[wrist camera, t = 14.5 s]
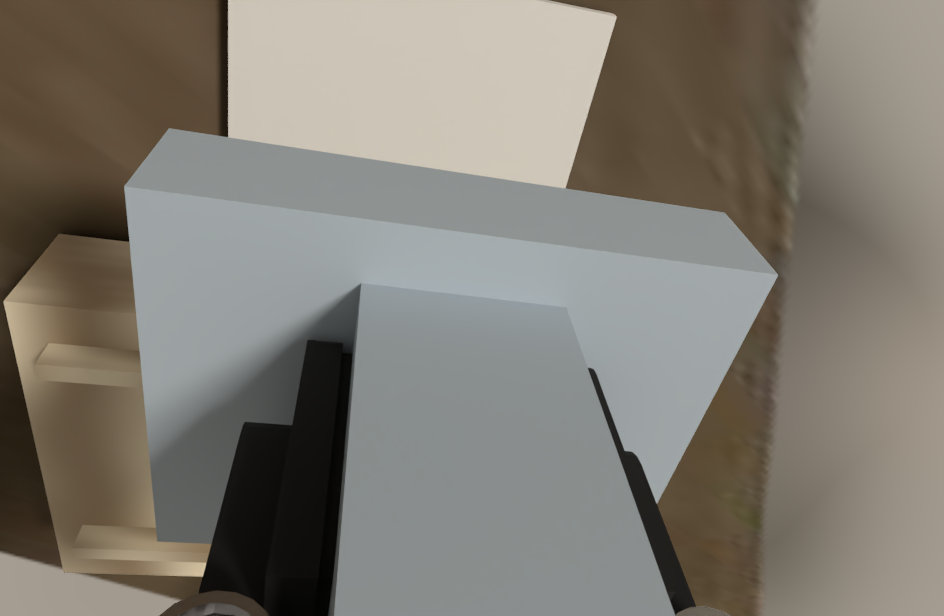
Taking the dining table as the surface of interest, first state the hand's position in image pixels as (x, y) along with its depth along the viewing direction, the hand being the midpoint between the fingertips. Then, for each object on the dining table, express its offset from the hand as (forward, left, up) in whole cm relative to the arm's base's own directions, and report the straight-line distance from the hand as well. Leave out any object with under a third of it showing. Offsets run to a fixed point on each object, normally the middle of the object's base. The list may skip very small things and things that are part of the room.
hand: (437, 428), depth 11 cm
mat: (0, 0, -13) cm, 13 cm away
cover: (0, 0, -2) cm, 2 cm away
